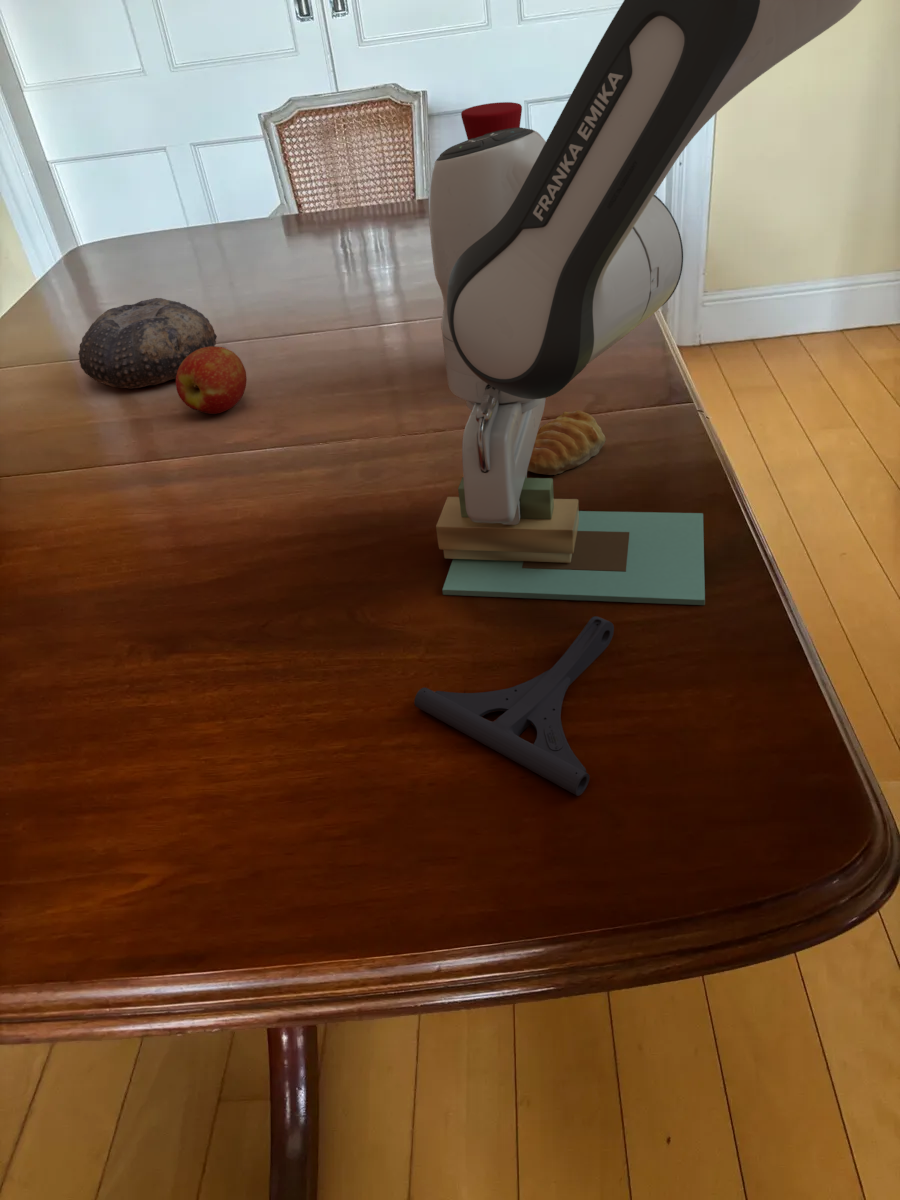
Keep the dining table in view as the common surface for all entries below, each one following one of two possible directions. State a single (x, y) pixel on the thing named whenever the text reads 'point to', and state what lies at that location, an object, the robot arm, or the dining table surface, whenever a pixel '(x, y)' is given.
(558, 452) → the pastry
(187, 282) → the dining table surface
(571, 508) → the brush
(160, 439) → the dining table surface
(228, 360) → the apple
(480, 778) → the dining table surface
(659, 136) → the robot arm
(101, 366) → the sea urchin shell
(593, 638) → the bracket
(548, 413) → the dining table surface
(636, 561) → the mat
